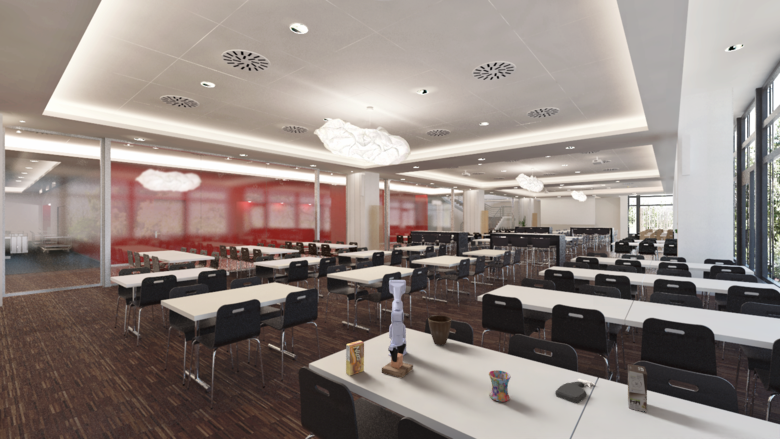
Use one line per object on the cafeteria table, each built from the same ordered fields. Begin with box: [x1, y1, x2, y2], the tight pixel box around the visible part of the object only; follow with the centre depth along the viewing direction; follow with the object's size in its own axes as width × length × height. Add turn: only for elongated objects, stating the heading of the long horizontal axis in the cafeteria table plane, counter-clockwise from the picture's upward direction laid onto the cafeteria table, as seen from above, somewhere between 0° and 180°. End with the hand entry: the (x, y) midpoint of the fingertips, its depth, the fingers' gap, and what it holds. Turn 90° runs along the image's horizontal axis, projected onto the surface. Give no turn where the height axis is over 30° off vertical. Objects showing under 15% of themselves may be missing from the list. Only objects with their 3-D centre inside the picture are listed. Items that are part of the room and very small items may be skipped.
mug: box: [488, 369, 512, 403], centre depth 157 cm, size 12×9×11 cm
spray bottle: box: [554, 378, 596, 404], centre depth 162 cm, size 3×11×24 cm
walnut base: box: [381, 361, 414, 379], centre depth 184 cm, size 12×12×3 cm
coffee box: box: [627, 363, 648, 413], centre depth 149 cm, size 9×6×16 cm
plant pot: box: [427, 315, 452, 346], centre depth 224 cm, size 15×15×16 cm
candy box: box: [345, 340, 365, 376], centre depth 182 cm, size 9×4×15 cm, turn 129°
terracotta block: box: [390, 353, 404, 369], centre depth 184 cm, size 4×4×6 cm
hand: (397, 359), depth 184 cm, fingers open, 5 cm apart
